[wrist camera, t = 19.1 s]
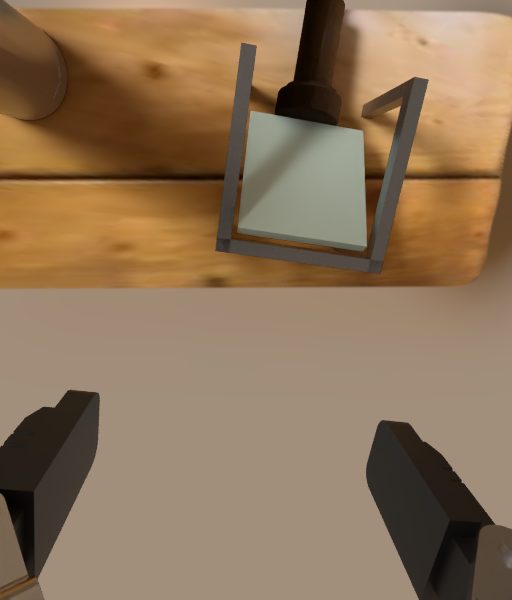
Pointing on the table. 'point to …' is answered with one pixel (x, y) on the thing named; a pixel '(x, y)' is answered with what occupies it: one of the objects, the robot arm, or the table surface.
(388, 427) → the robot arm
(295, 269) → the table surface
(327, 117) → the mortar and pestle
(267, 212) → the trapdoor
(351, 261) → the frame
